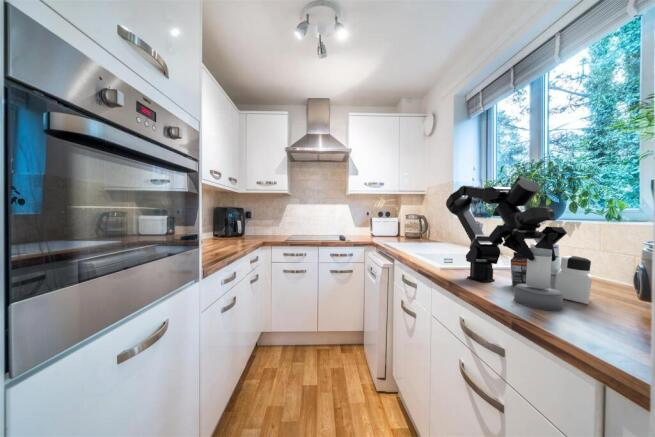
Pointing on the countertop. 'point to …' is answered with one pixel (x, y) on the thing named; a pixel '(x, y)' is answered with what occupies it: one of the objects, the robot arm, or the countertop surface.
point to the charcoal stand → (538, 297)
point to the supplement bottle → (518, 269)
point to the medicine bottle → (574, 279)
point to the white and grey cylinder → (539, 268)
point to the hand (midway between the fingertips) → (543, 260)
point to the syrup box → (553, 265)
